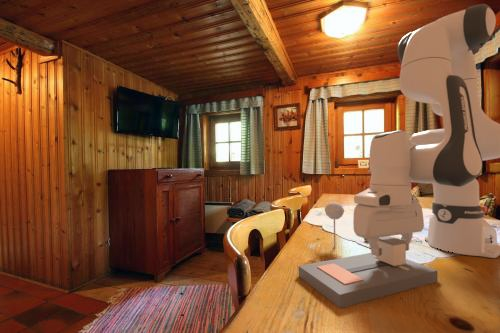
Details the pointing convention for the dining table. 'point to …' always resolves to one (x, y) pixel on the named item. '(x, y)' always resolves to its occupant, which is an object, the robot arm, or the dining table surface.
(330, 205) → the lollipop
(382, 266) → the console board
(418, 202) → the robot arm
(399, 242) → the fader knob
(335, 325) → the dining table surface
